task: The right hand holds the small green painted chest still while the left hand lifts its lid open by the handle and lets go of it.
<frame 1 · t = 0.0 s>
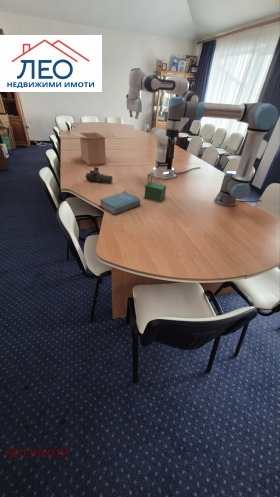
left hand: (133, 118, 170), 48 cm above the table, tool pointing down, fingers open, 8 cm apart
right hand: (168, 166, 141), 28 cm above the table, tool pointing down, fingers open, 13 cm apart
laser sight: (99, 181, 189), on the table
box: (93, 161, 237), on the table
book: (120, 206, 154), on the table
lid: (155, 180, 161), point 14 cm above the table, hinge at 0.0°
chest: (154, 198, 169), on the table
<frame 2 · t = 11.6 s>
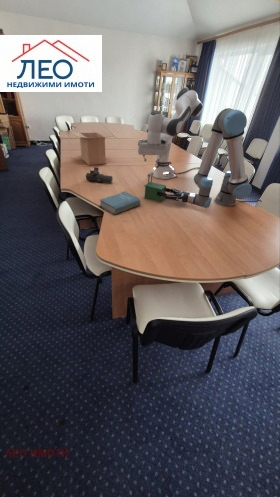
left hand: (151, 161, 155), 26 cm above the table, tool pointing down, fingers open, 8 cm apart
right hand: (159, 190, 164), 6 cm above the table, tool horizontal, fingers closed on chest, 9 cm apart
chest: (154, 198, 169), on the table, touching right hand
everything else where it was.
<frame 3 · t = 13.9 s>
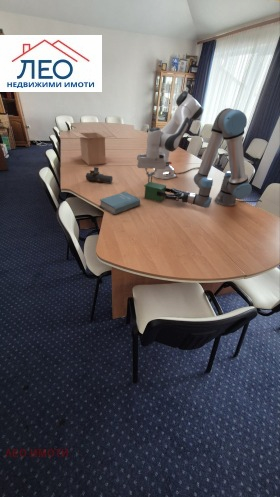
left hand: (150, 174, 160), 17 cm above the table, tool pointing down, fingers closed on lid, 3 cm apart
right hand: (159, 191, 164), 6 cm above the table, tool horizontal, fingers closed on chest, 9 cm apart
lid: (155, 180, 161), point 14 cm above the table, hinge at -0.1°, touching left hand
chest: (154, 198, 169), on the table, touching right hand
everything else where it was.
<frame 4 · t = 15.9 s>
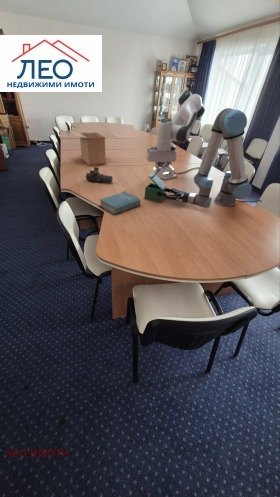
left hand: (160, 168, 154), 23 cm above the table, tool pointing down, fingers closed on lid, 3 cm apart
right hand: (159, 191, 164), 6 cm above the table, tool horizontal, fingers closed on chest, 10 cm apart
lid: (161, 177, 157), point 17 cm above the table, hinge at 33.8°, touching left hand
chest: (154, 198, 168), on the table, touching right hand
everything else where it was.
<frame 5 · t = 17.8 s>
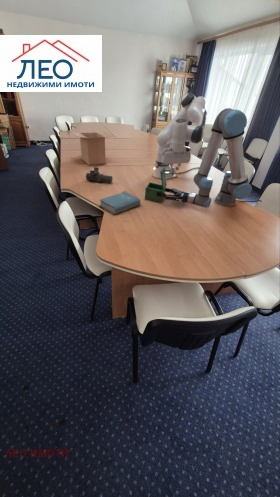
left hand: (174, 170, 150), 24 cm above the table, tool pointing down, fingers closed on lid, 3 cm apart
right hand: (159, 191, 163), 6 cm above the table, tool horizontal, fingers closed on chest, 10 cm apart
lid: (169, 178, 155), point 17 cm above the table, hinge at 74.8°, touching left hand
chest: (154, 197, 168), point 1 cm above the table, tilted 6°, touching right hand
everything else where it was.
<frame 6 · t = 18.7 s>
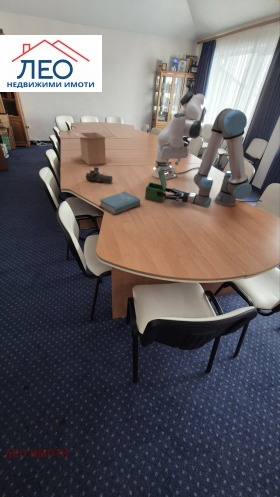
left hand: (172, 165, 150), 26 cm above the table, tool pointing down, fingers open, 5 cm apart
right hand: (159, 191, 164), 6 cm above the table, tool horizontal, fingers closed on chest, 10 cm apart
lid: (168, 177, 155), point 18 cm above the table, hinge at 67.8°
chest: (154, 197, 168), point 1 cm above the table, tilted 6°, touching right hand
everything else where it was.
when the right hand's fingers open (6 cm above the table, at t = 21.6 s): chest stays where it is, on the table.
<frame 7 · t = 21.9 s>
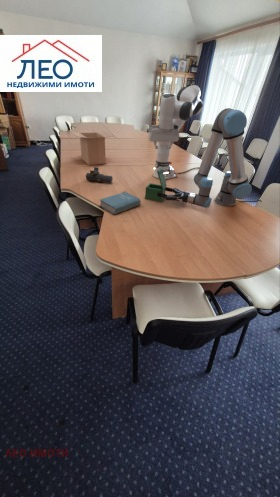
left hand: (162, 148, 147), 35 cm above the table, tool pointing down, fingers open, 8 cm apart
right hand: (160, 191, 164), 6 cm above the table, tool horizontal, fingers open, 13 cm apart
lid: (167, 177, 157), point 17 cm above the table, hinge at 66.3°
chest: (154, 198, 169), on the table
everything else where it was.
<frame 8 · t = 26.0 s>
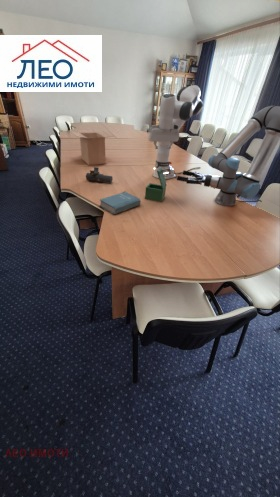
left hand: (162, 148, 147), 35 cm above the table, tool pointing down, fingers open, 8 cm apart
right hand: (180, 175, 151), 21 cm above the table, tool horizontal, fingers open, 13 cm apart
nothing on the table moved.
at the end: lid at +66° (first picture: +0°); the left hand is holding nothing; the right hand is holding nothing; chest tilted 0°; chest never tilted more than 7° during the clip; chest moved 0.2 cm from its start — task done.
